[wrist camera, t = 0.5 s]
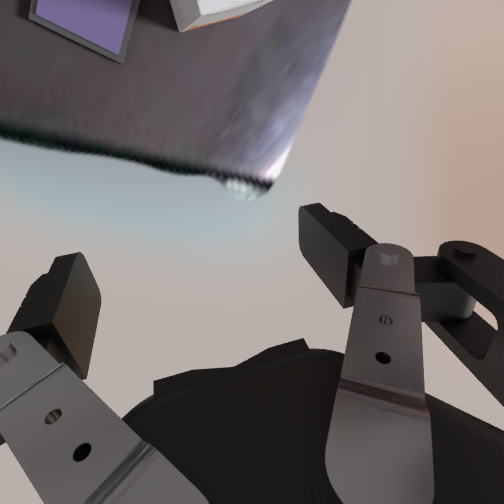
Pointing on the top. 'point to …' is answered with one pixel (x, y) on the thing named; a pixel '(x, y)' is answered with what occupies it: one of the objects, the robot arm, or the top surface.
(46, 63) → the top surface
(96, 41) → the ink pad
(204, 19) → the skincare box
